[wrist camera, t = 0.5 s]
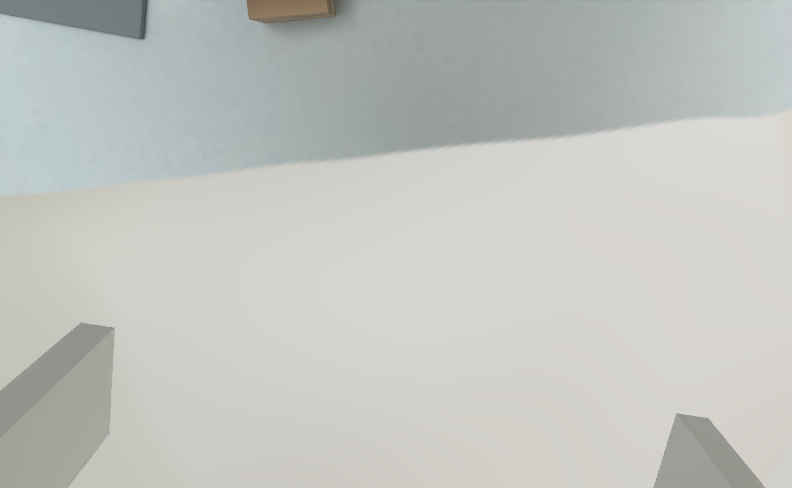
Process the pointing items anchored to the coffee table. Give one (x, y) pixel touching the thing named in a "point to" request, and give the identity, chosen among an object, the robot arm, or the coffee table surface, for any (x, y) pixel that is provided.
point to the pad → (84, 14)
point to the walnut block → (289, 10)
